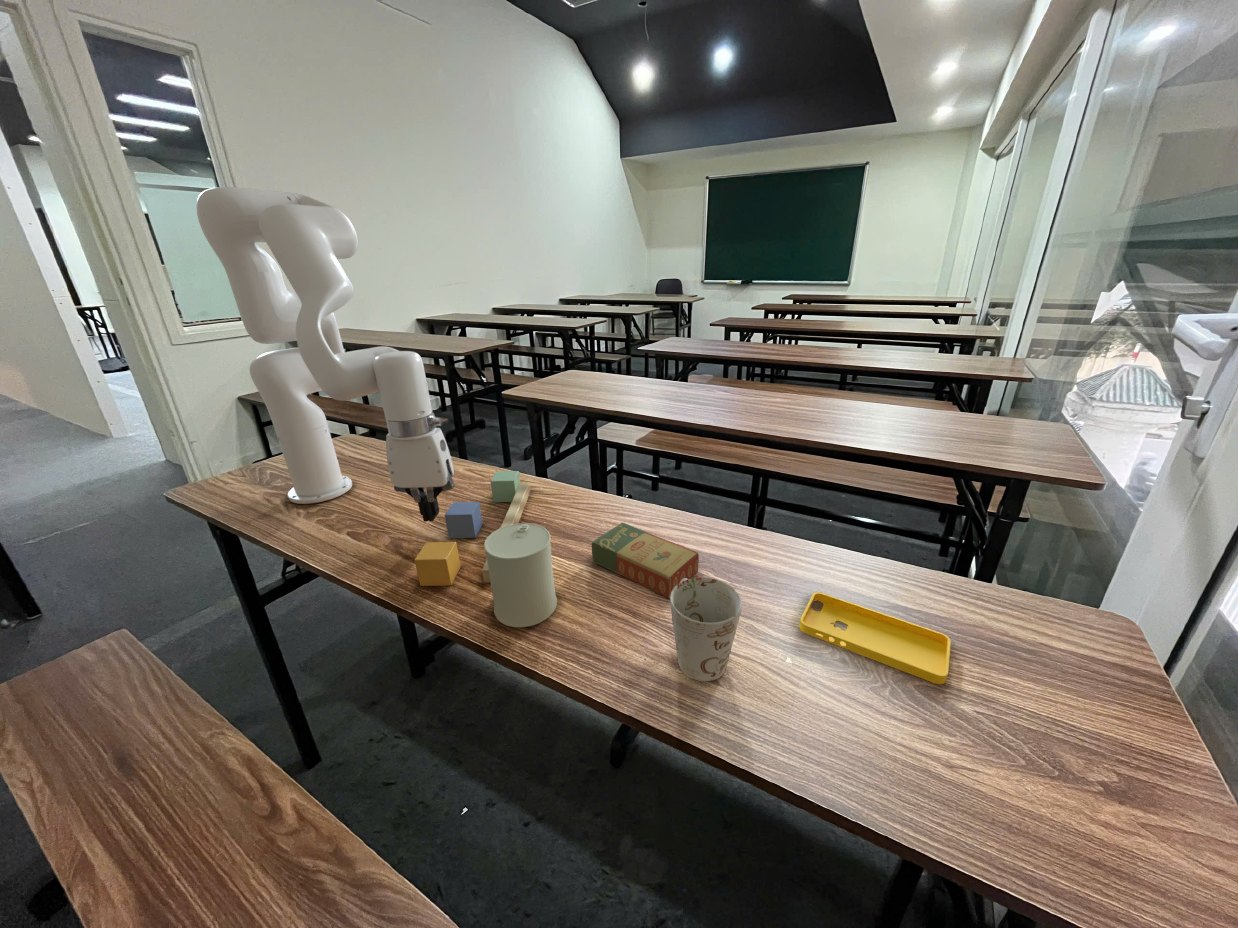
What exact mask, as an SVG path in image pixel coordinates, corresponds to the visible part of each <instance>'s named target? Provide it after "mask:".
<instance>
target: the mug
mask: <svg viewBox="0 0 1238 928" xmlns="http://www.w3.org/2000/svg"><path fill="white" fill-rule="evenodd" d="M669 605H670V613H671V620H672V625H673V626H672V627H673V635H674V642H675V650H676V656H677V663H678V666H679V668H680V670H681V671H682V673H683V674H684V675H685V676H687V677H688V678H691V679H692V680H695V681H699V682H712V681H715V680H717V679H720V678H721V677H722V676H723V675H724V673H725V672H726V670H727V667H728V662H729V659H730V657H731V652H732V647H733V644H734V639H735V637H736V633H737V629H738V625H739V621H740V617H741V614H742V610H743V609H742V607H743V602H742V598H741V596H740V594H739V593H738V592H737V590H736V588H735V589H734V588H733V587H732V586H731V585H730V584H728V583H727V582H724V581H721V580H719V579H715V578H711V577H693V578H692V579H686V578H684V579H682V580H681V581H680V583H679V584H678V585H676V586H675V587H674V589H673V590H672V592H671V596H670V598H669Z"/></svg>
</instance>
